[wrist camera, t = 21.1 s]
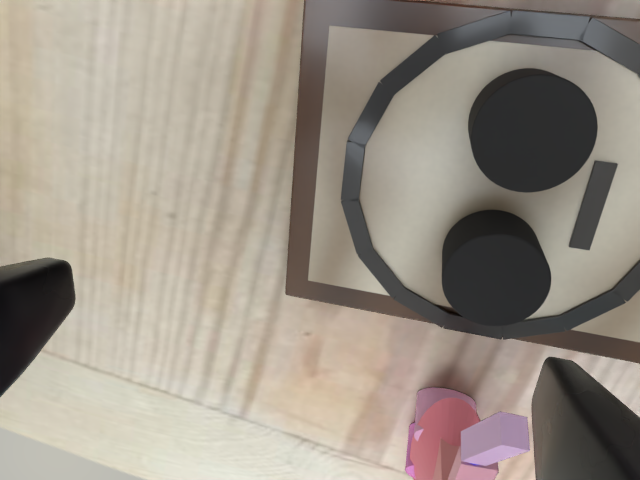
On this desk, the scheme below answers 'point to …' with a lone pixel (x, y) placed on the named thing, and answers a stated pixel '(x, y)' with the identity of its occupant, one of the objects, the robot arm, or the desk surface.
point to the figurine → (460, 438)
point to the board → (460, 164)
